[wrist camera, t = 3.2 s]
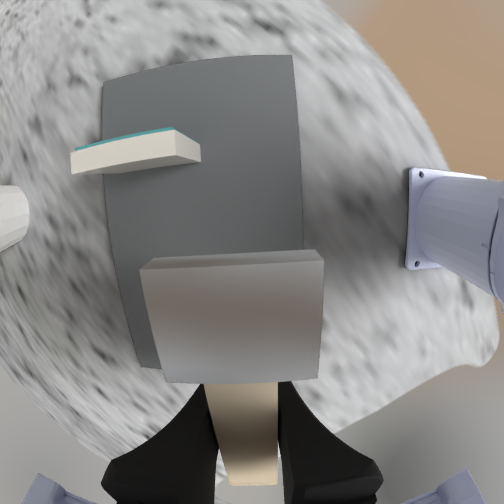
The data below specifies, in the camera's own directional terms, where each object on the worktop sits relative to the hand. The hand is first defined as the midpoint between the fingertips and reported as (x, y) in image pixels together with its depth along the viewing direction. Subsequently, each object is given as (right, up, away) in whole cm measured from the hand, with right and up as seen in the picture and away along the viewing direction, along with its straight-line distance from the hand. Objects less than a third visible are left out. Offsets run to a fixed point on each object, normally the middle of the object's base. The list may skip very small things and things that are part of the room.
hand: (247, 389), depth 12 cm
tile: (-6, +13, +5) cm, 15 cm away
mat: (-3, +8, +7) cm, 11 cm away
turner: (0, +2, +2) cm, 2 cm away
